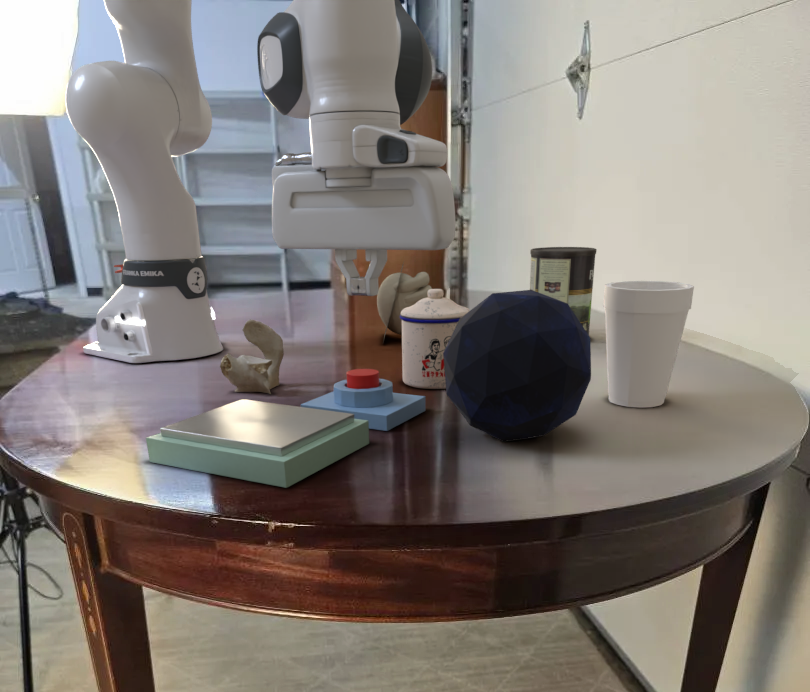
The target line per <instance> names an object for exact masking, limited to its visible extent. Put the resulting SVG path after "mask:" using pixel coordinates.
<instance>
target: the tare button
mask: <svg viewBox="0 0 810 692" xmlns="http://www.w3.org/2000/svg"><path fill="white" fill-rule="evenodd" d="M379 379H380V371H379V370H378V369H374V368H355V369H350V370H348V371H346V380H347V387H348V388H353V389H369V388H376V387H379Z"/></svg>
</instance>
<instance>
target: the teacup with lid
mask: <svg viewBox="0 0 810 692" xmlns="http://www.w3.org/2000/svg"><path fill="white" fill-rule="evenodd" d="M444 294H445V293H444V290H443V289H442V288H432V289H430V290H428V298H424V299H421V300H419V301H418V302H417V303H416V304H414V305H412V306H410V307H407V308H404V309H403V310H402V311H401V315H400V319H402V336H401V360H402V361H401V363H402V364H401V365H402V366H401V369H402V371H401V372H402V373H401V374H402V382H403V383H404V384H405V385H407V386H409V387H412V388H416V389H424V390H446V382H445V370H444V358H443V353H444V350H445V348H446V346H447V344H448V342H449V340H450V338H451V336H452V334H453V331H454V329H455V327H456V325H457V323H458V321H459V319H460V318H461V317H463V316H464V315H465V314H466V313H468V312H469V311H470V310H471V309H469V308H468V307H466V306H464V305H460V304H457V303H456V302H455V301H453V300H452V299H451V298H448V297H444Z"/></svg>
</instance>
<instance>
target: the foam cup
mask: <svg viewBox="0 0 810 692" xmlns="http://www.w3.org/2000/svg"><path fill="white" fill-rule="evenodd" d="M694 289H695V286H694V285H692V284H690V283H684V282H679V281H678V282H677V281H663V280H624V281H623V280H622V281H614V282H609V283H606V284H604V290H603V291H604V292H603V303H602V306H603V308H604V317H605V318H604V319H605V347H606V370H607V371H606V375H607V394H608V401H609V403H612V404H614V405H617V406H622V407H627V408H638V409H639V408H641V409H642V408H653V407H658V406H662V405H663V404H665V399H666V398H667V394H668V390H669V386H670V382H671V379H672V374H673V371H674V367H675V363H676V360H677V356H678V351H679V349H680V344H681V341H682V337H683V333H684V329H685V326H686V322H687V318H688V315H689V314H688V313H689V310H691V309H692V305H693V296H694Z"/></svg>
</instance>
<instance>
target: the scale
mask: <svg viewBox="0 0 810 692" xmlns="http://www.w3.org/2000/svg"><path fill="white" fill-rule="evenodd" d="M145 441H146V447H147V454H148V459H149V462H150V463H153V464H158V465H164V466H170V467H174V468H180V469H184V470H189V471H196V472H199V473H200V472H201V473H206V474H211V475H216V476H221V477H228V478H232V479H237V480H242V481H243V480H244V481H248V482H253V483H259V484H264V485H268V486H275V487H280V488H284V489H288V488H289V487H291V486H293V485H295V484H297V483H298V482H301V481H302V480H304V479H306V478H307V477H310V476H311V475H313V474H315V473H317V472H318V471H321V470H323V469H325V468H326V467H328V466H330V465H332V464H334V463H335V462H338V461H339V460H341V459H343V458H345V457H347V456H349V455H351V454H353V453H354V452H357V451H358V450H360V449H362V448H364V447H366V446H368V445H369V444H370V429H369V422H368V420H361V419H354V414H351V413H343V412H335V411H328V410H320V409H313V408H305V407H301V406H296V405H288V404H282V403H274V402H268V401H260V400H259V401H258V400H251V399H243V398H241V399H239V400H236V401H233V402H230V403H227V404H224V405H221V406H219V407H216V408H213V409H210V410H208V411H205V412H202V413H199V414H196V415H193V416H190V417H188V418H184V419H183V420H182V419H181V420H179V421H177V422H173V423H171V424H168V425H166V426H163V427H160V432H158V433H155V434H152V435H150V436H148V437H145Z"/></svg>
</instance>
